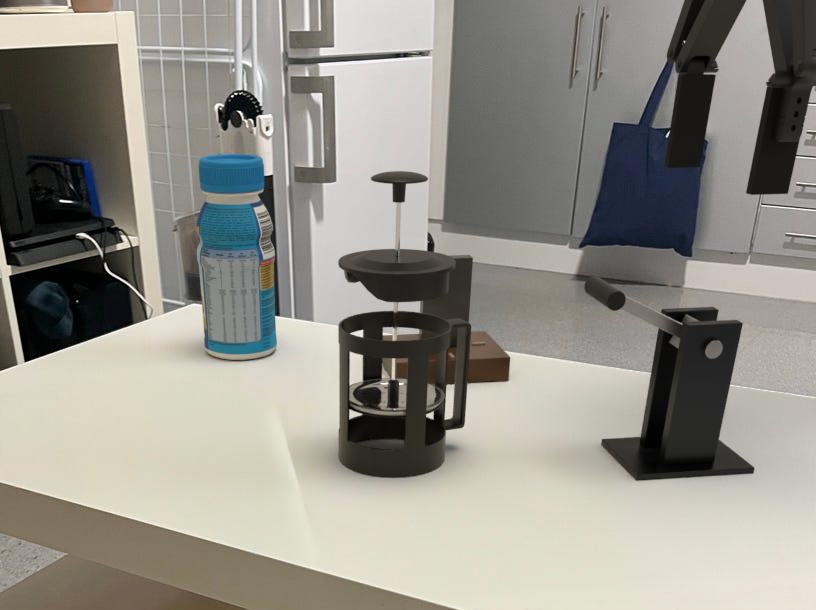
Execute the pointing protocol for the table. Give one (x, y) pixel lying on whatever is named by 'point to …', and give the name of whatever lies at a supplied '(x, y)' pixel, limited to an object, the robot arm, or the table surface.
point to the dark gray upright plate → (452, 297)
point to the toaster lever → (634, 307)
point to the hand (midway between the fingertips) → (721, 179)
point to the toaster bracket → (686, 403)
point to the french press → (391, 397)
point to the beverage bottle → (236, 258)
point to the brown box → (483, 360)
